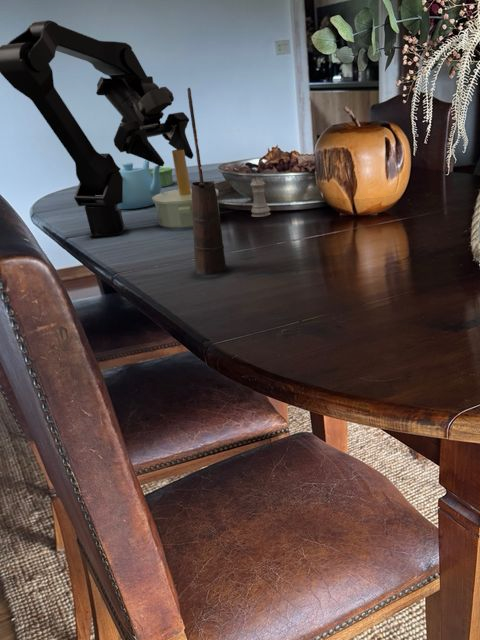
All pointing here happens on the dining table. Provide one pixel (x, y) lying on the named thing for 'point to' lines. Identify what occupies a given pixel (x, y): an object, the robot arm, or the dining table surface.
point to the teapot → (139, 185)
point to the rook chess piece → (259, 199)
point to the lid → (182, 180)
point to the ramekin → (164, 176)
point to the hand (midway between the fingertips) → (178, 161)
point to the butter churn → (205, 219)
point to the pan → (175, 214)
